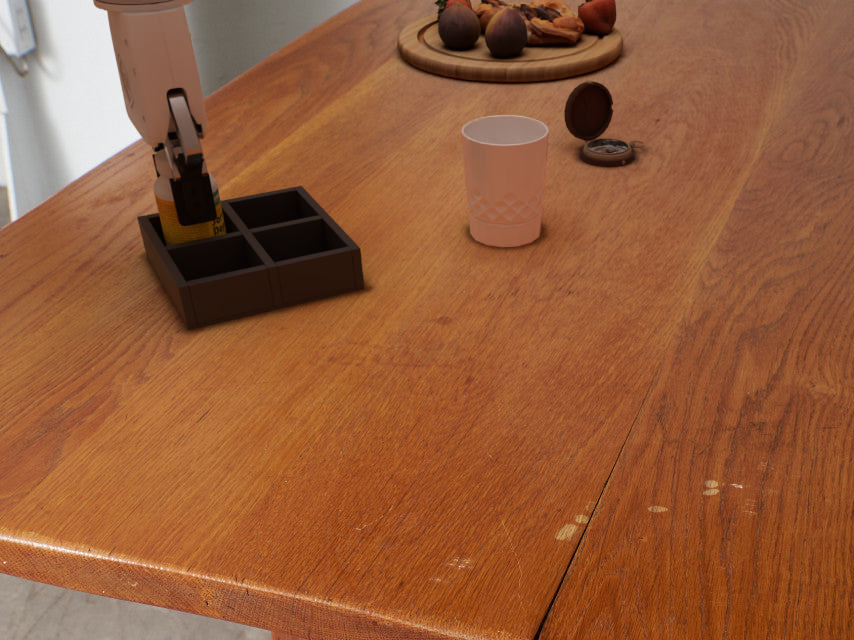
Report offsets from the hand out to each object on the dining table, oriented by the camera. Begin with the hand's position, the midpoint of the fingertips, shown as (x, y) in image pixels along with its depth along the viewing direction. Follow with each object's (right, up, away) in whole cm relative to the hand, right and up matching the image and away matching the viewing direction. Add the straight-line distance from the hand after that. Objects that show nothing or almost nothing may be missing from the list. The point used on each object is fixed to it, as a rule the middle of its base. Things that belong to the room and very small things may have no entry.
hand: (189, 207), depth 88 cm
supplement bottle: (0, -4, +3) cm, 5 cm away
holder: (+5, -5, +2) cm, 8 cm away
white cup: (+28, 0, +9) cm, 29 cm away
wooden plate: (+28, +39, +56) cm, 74 cm away
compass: (+39, +13, +25) cm, 48 cm away
